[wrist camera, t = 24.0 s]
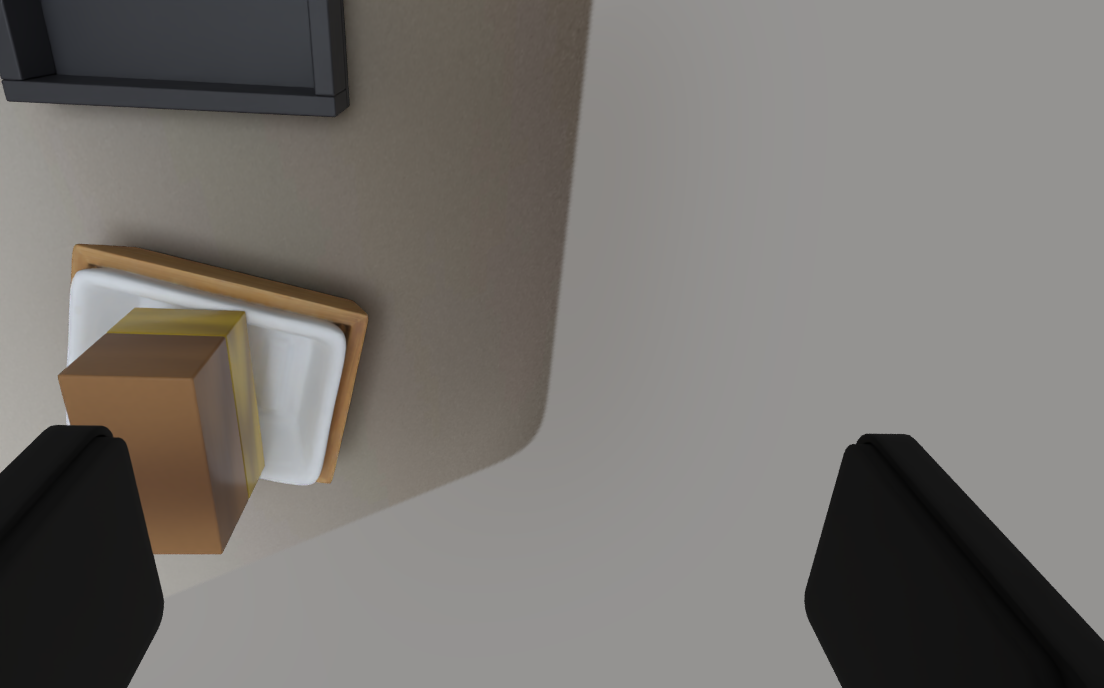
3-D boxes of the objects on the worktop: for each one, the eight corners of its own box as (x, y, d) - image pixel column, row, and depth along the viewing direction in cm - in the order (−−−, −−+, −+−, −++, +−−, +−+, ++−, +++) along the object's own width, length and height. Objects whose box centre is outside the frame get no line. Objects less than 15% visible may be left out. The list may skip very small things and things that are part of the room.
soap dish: (380, 285, 36) (364, 328, 31) (346, 445, 40) (326, 503, 35) (112, 218, 33) (52, 254, 29) (103, 395, 37) (49, 451, 33)
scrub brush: (134, 306, 30) (55, 375, 25) (245, 310, 30) (192, 378, 25) (166, 464, 34) (103, 555, 28) (265, 466, 34) (222, 555, 29)
